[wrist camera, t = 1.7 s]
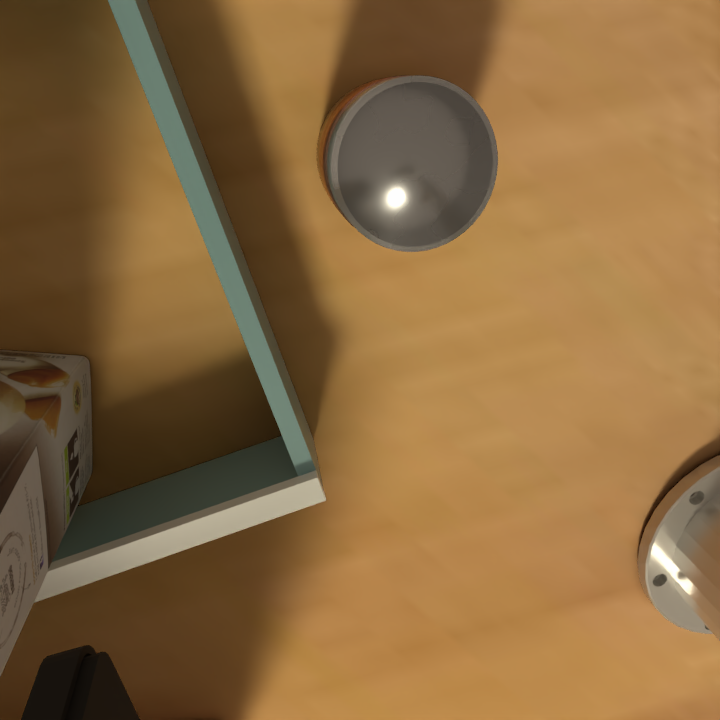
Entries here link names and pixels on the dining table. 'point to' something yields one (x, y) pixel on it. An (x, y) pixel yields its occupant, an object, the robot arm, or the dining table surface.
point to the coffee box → (38, 472)
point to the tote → (296, 445)
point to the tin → (408, 161)
